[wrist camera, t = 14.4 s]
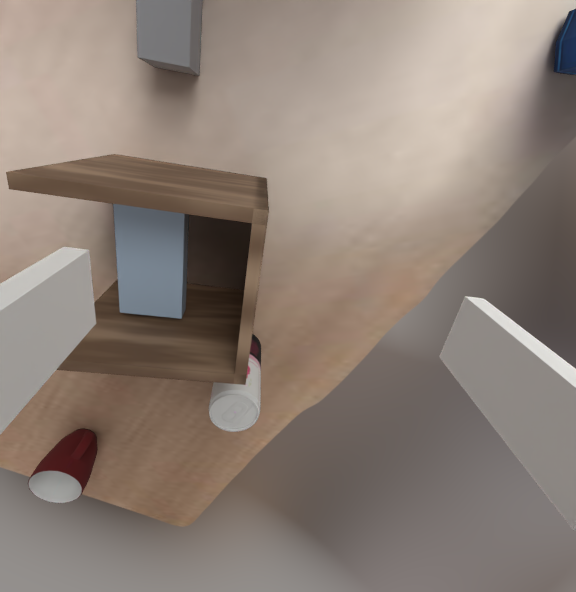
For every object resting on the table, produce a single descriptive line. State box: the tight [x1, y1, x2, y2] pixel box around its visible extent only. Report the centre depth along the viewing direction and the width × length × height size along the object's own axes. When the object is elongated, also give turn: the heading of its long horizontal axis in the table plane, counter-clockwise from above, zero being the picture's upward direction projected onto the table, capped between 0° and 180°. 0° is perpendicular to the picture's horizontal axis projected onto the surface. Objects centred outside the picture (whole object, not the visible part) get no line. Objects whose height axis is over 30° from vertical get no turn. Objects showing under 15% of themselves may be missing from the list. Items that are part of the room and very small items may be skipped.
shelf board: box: [113, 204, 189, 319], centre depth 38 cm, size 14×7×2 cm, turn 171°
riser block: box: [136, 0, 203, 76], centre depth 35 cm, size 8×5×6 cm, turn 171°
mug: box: [28, 429, 97, 503], centre depth 58 cm, size 11×8×10 cm
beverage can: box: [209, 334, 261, 432], centre depth 50 cm, size 7×6×15 cm
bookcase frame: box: [6, 154, 269, 385], centre depth 39 cm, size 18×19×20 cm
